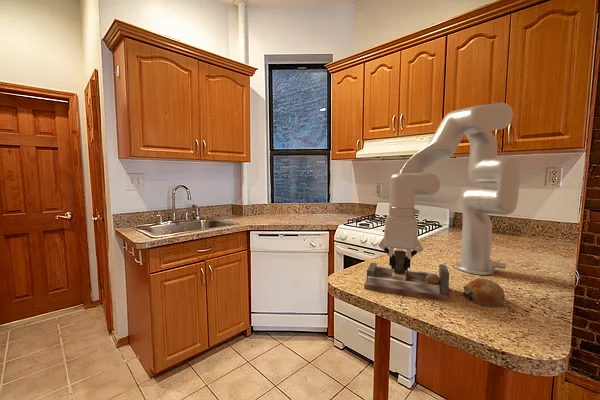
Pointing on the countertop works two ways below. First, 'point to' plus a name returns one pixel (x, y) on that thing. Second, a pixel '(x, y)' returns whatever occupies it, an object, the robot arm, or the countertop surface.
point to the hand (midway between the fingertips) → (399, 268)
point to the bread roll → (484, 293)
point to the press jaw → (400, 266)
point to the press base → (409, 282)
